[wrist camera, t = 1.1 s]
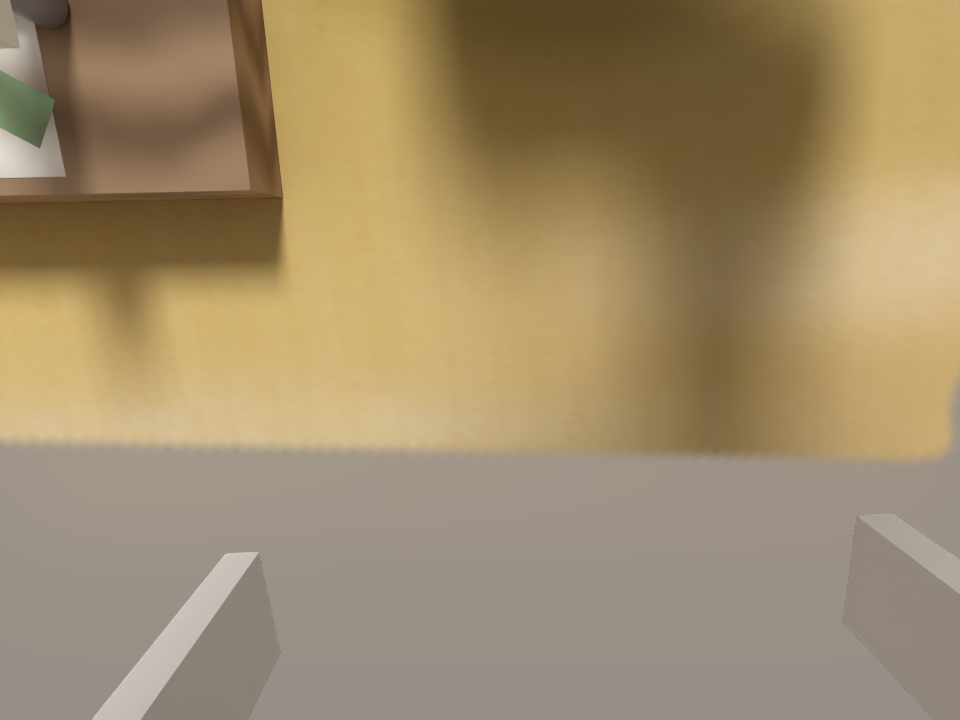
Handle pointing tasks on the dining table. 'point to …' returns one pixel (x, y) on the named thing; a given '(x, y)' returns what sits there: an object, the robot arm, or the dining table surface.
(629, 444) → the dining table surface
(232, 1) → the wooden box with sign
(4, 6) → the white box with rod
